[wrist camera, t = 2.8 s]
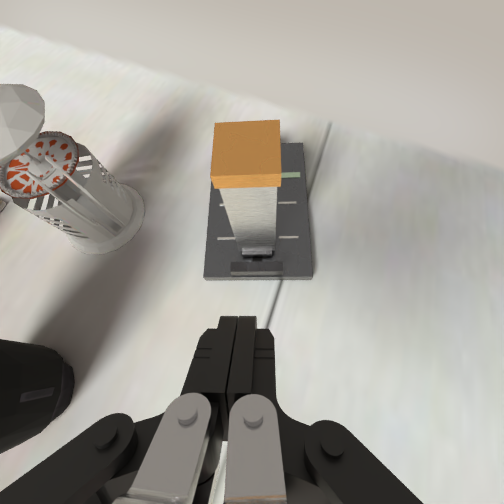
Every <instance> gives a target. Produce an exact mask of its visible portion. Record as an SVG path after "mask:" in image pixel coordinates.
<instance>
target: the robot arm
mask: <svg viewBox="0 0 504 504" xmlns="http://www.w3.org/2000/svg"><path fill="white" fill-rule="evenodd" d="M222 441H228V447H227V463H226V479H225V495H224V503H223V504H423V503H422V502H421V501H420V500H419V499H418V498H417V497H416V496H415V495H414V494H413V493H412V492H411V491H410V490H409V489H408V488H407V487H406V486H405V485H404V484H403V483H402V482H401V481H400V480H399V479H398V478H397V477H396V476H395V475H394V474H393V473H392V472H391V471H390V470H389V469H387V468H386V467H385V466H384V465H383V464H382V463H381V462H380V461H379V460H378V459H377V458H376V457H375V456H374V455H373V454H372V453H371V452H370V451H369V450H368V449H367V448H366V447H365V446H364V445H363V444H362V443H361V442H360V441H359V440H358V439H357V438H356V437H355V436H354V435H353V434H352V433H351V432H350V431H349V430H347V429H346V428H345V427H344V426H342V425H341V424H339V423H337V422H334V421H329V420H322V421H318V422H315V423H314V424H312V425H311V426H309V425H306V424H304V423H301V422H298V421H296V420H294V419H292V418H290V417H289V416H287V415H286V414H285V413H284V412H283V411H282V409H281V408H280V406H279V404H278V402H277V398H276V379H275V351H274V337H273V335H272V334H271V332H270V330H269V329H257V318H256V316H239V318H238V316H221V317H220V320H219V324H218V328H217V329H207V330H206V331H205V332H204V333H203V335H202V336H201V337H200V339H199V342H198V345H197V348H196V351H195V354H194V358H193V359H192V362H191V365H190V368H189V371H188V374H187V377H186V380H185V383H184V386H183V389H182V392H181V394H180V396H179V397H178V398H176V399H175V400H174V401H173V402H172V403H171V404H170V405H169V406H168V408H167V409H166V411H165V412H164V413H162V414H160V415H158V416H155V417H152V418H149V419H146V420H142V421H139V422H136V423H133V420H132V419H131V417H130V416H128V415H126V414H123V413H115V414H111V415H108V416H106V417H104V418H102V419H100V420H99V421H97V422H96V423H94V424H93V425H92V426H90V427H89V428H88V429H86V430H85V431H84V432H82V433H81V434H79V435H78V436H77V437H75V438H74V439H73V440H71V441H70V442H68V443H67V444H66V445H64V446H63V447H62V448H60V449H59V450H57V451H56V452H55V453H53V454H52V455H51V456H49V457H48V458H46V459H45V460H44V461H42V462H41V463H40V464H38V465H37V466H35V467H34V468H33V469H31V470H30V471H29V472H27V473H26V474H24V475H23V476H22V477H20V478H19V479H18V480H16V481H15V482H13V483H12V484H11V485H9V486H8V487H7V488H5V489H4V490H2V491H1V492H0V504H212V501H213V496H214V492H215V487H216V482H217V477H218V472H219V460H220V453H221V447H222Z"/></svg>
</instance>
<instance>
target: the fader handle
mask: <svg viewBox="0 0 504 504" xmlns="http://www.w3.org/2000/svg"><path fill="white" fill-rule="evenodd" d="M210 177H211V180H212V182H213V185H214V188H215V189H219V190H220V193H221V196H222V199H223V202H224V205H225V209H226V212H227V215H228V218H229V221H230V224H231V227H232V230H233V233H234V236H235V239H236V243H237V246H238V249H239V251H242V256H243V257H252V256H272V250H275V234H276V206H277V187H281V147H280V120H264V121H244V122H224V123H215V127H214V139H213V151H212V162H211V174H210Z"/></svg>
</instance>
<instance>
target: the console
mask: <svg viewBox="0 0 504 504" xmlns="http://www.w3.org/2000/svg"><path fill="white" fill-rule="evenodd" d="M280 147H281V187H277V206H276V234H275V250H272V256H252V257H243V256H242V251H239V249H238V246H237V243H236V239H235V236H234V233H233V230H232V227H231V224H230V221H229V218H228V215H227V212H226V209H225V205H224V202H223V199H222V196H221V193H220V190H219V189H215V188H214V185H213V182H212V180H211V192H210V204H209V216H208V228H207V241H206V253H205V265H204V277H203V278H204V279H205V280H311V279H312V277H313V272H312V259H311V246H310V232H309V219H308V206H307V193H306V179H305V166H304V153H303V143H282V144H280Z"/></svg>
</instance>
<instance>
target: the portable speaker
mask: <svg viewBox="0 0 504 504" xmlns="http://www.w3.org/2000/svg"><path fill="white" fill-rule="evenodd" d="M73 387H74V376H73V370H72V367H70V366H69V365H68V364H66V363H65V362H64V361H63V358H62V357H61V356H60V355H59V354H58V353H57V352H56V351H55V350H52V349H50V348H47V347H45V346H41V345H34V344H28V343H21V342H15V341H8V340H2V339H0V454H1V453H3V452H5V451H7V450H9V449H11V448H13V447H15V446H17V445H19V444H21V443H23V442H25V441H26V440H28V439H30V438H32V437H34V436H35V435H37V434H39V433H41V432H42V431H43V430H44V429H45V428H46V427H47V426H48V425H49V424H50V422H51V421H53V420H54V419H55V418H56V417H58V416H59V415H60V414H61V413H62V412H63V411H64V410H65V409H66V407H67V406H68V405H69V403H70V399H71V395H72V391H73Z"/></svg>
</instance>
